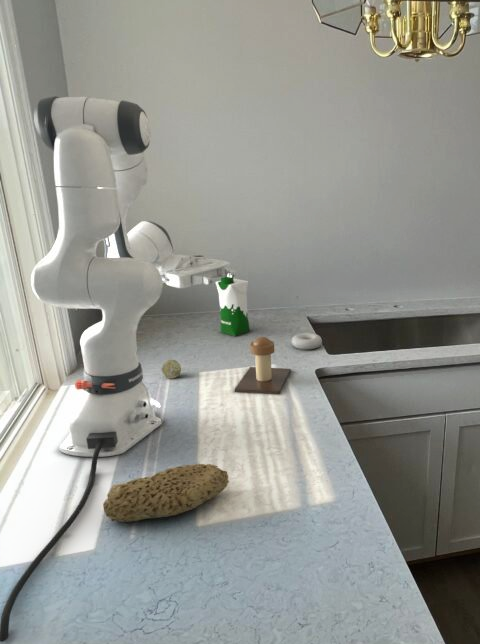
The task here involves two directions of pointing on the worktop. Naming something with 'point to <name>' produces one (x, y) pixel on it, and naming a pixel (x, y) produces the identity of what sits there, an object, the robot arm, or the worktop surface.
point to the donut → (306, 341)
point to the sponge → (164, 493)
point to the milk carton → (233, 305)
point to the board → (270, 386)
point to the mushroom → (262, 357)
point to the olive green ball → (171, 369)
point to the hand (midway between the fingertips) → (222, 277)
